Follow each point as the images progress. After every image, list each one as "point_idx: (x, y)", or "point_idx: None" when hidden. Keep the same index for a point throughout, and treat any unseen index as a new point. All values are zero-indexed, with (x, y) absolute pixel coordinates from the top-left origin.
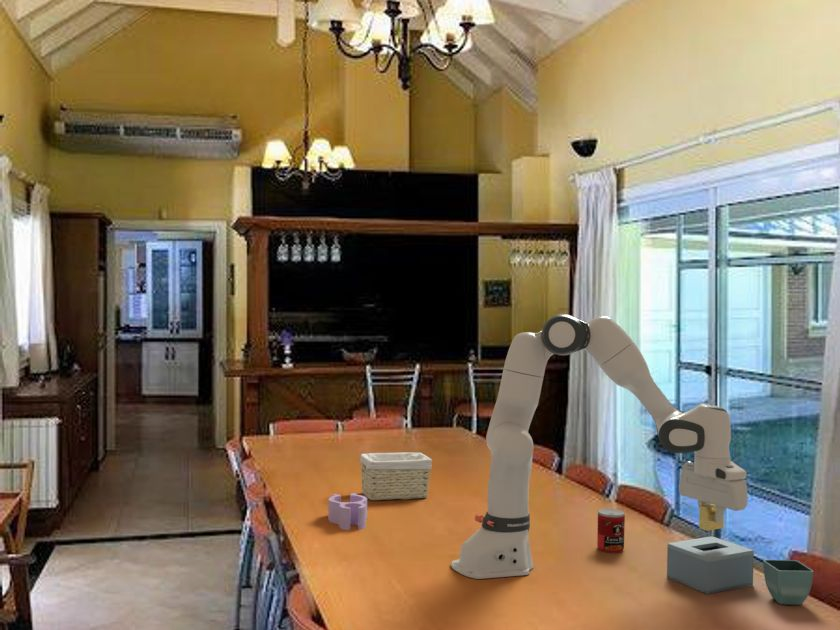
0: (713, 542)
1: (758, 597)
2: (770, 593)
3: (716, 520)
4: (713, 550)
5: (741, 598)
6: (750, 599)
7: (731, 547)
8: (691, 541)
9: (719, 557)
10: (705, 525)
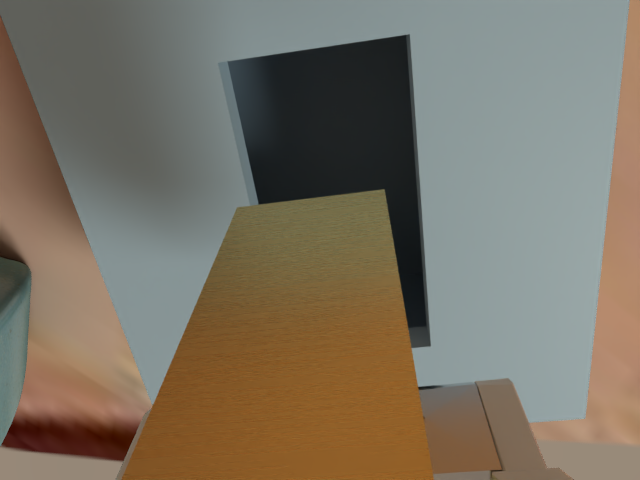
0: (437, 327)
1: (44, 208)
2: (14, 266)
3: (143, 424)
4: (223, 174)
5: (33, 109)
6: (15, 147)
7: None
8: (555, 164)
9: (40, 101)
10: (245, 240)
